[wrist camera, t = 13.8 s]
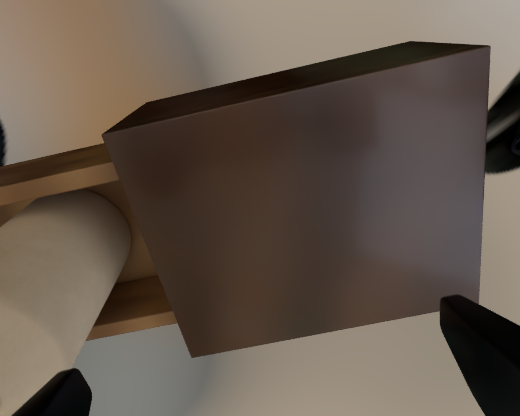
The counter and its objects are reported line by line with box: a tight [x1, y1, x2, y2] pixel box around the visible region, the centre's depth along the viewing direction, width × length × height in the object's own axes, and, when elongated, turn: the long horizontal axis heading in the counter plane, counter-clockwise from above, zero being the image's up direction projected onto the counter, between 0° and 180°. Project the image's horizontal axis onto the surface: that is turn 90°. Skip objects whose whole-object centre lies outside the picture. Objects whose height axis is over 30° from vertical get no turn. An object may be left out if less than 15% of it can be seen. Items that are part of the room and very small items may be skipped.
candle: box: [0, 189, 131, 416], centre depth 15 cm, size 6×6×10 cm
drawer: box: [0, 143, 177, 341], centre depth 19 cm, size 14×10×5 cm
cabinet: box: [102, 41, 490, 358], centre depth 18 cm, size 14×11×7 cm
